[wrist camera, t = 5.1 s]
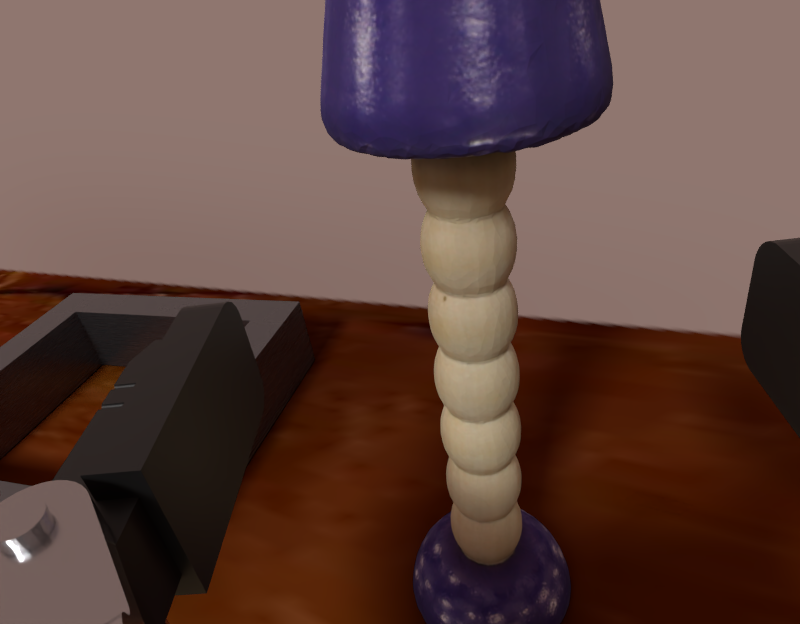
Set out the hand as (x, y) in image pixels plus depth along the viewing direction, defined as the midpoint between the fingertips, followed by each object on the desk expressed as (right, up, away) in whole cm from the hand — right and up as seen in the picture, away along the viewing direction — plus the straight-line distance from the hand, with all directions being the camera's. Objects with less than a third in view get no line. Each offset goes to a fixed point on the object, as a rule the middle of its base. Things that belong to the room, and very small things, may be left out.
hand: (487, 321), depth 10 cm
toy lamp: (+1, -7, +7) cm, 10 cm away
